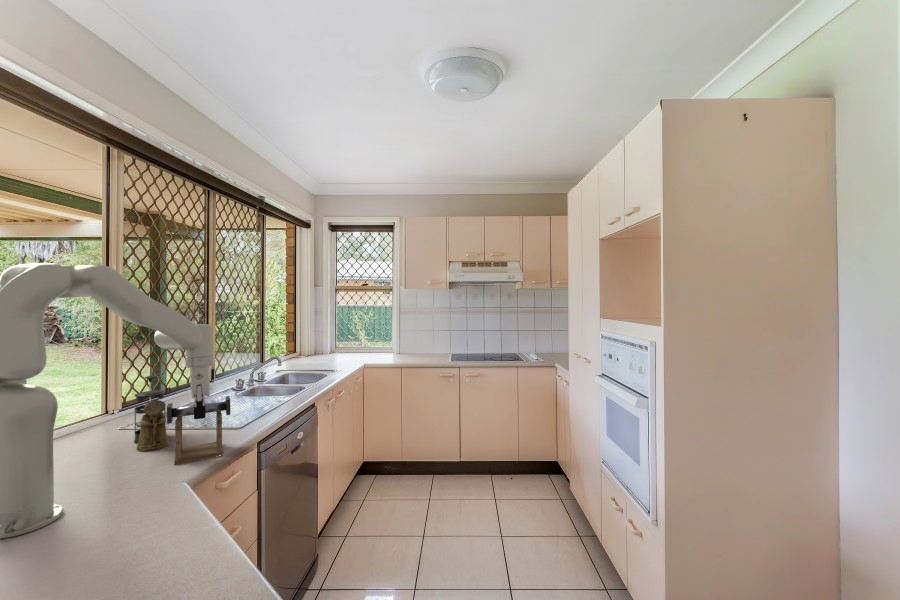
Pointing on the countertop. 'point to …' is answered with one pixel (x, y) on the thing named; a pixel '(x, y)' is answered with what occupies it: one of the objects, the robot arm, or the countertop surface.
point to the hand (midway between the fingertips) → (199, 416)
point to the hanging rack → (197, 450)
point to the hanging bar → (190, 409)
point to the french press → (140, 398)
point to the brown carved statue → (153, 427)
